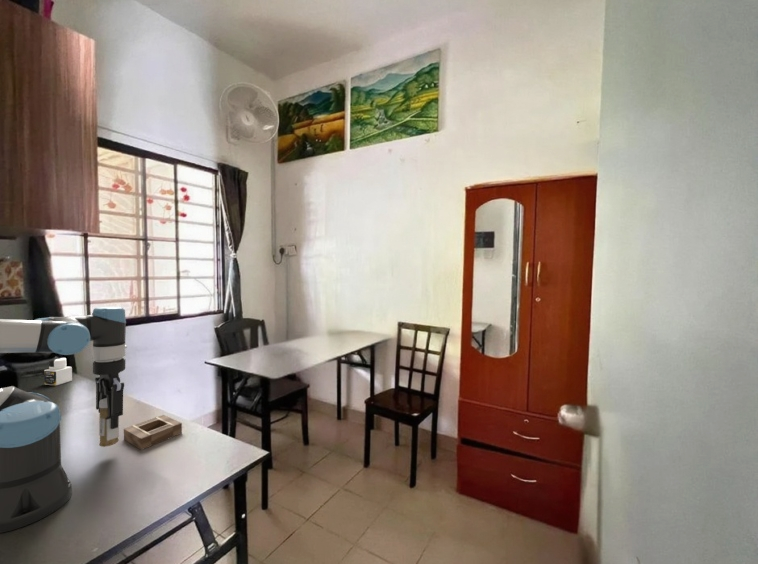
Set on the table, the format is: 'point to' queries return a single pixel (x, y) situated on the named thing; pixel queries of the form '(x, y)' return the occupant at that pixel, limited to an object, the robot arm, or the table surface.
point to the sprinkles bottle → (104, 425)
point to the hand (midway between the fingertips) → (109, 436)
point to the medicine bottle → (57, 372)
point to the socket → (152, 431)
